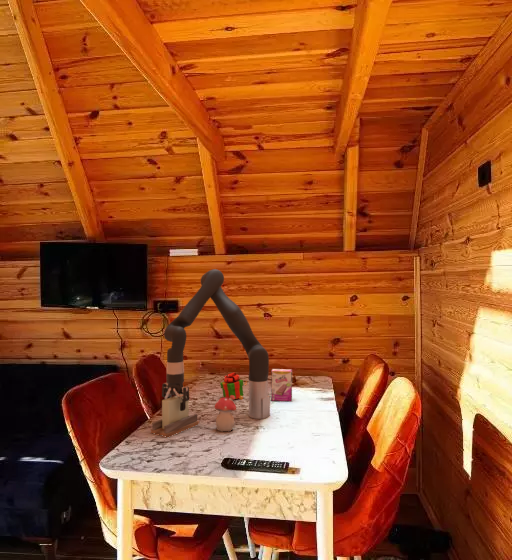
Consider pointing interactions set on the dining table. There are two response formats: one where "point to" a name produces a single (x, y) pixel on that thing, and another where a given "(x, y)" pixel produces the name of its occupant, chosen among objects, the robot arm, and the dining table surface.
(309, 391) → the dining table surface
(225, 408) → the decorative ornament
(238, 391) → the gift box
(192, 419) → the door track
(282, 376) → the candy bar box
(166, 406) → the door panel
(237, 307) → the robot arm
